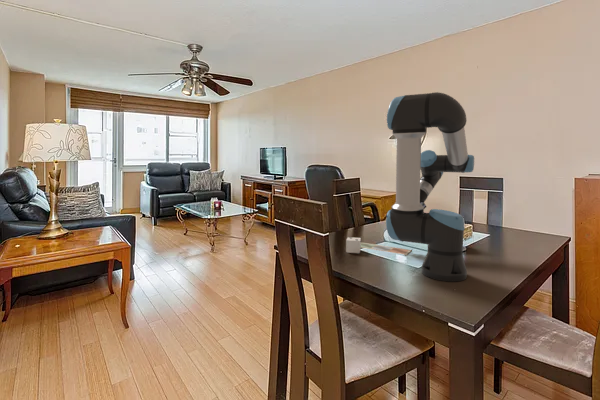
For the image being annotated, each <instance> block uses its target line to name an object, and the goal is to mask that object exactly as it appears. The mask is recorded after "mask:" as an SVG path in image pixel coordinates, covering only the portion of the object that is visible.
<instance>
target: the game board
mask: <svg viewBox="0 0 600 400" xmlns="http://www.w3.org/2000/svg"><path fill="white" fill-rule="evenodd" d="M361 249H367V250H374V251H379V252H380V251H381V252H386V253H393V254H399V255H403V256H404V255H405V257H406V256H408V255H409V254H410V253H412V252H413V251H412V249H406V248H399V247H394V246H386V245H380V244H374V243H368V242H362V241H361ZM408 253H409V254H408Z"/></svg>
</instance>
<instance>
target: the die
mask: <svg viewBox="0 0 600 400" xmlns="http://www.w3.org/2000/svg"><path fill="white" fill-rule="evenodd" d="M361 242H362V240H361V237H354V236H353V237H351V236H350V237H349V236H347V238H346V242H345V246H346V248H345V252H346V253H351V254H361V249H362V248H361Z"/></svg>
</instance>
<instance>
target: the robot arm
mask: <svg viewBox="0 0 600 400" xmlns="http://www.w3.org/2000/svg"><path fill="white" fill-rule="evenodd" d="M386 123H387V124H386V125H387V129H389V130H392V136H393V137H395V139H396V158H395V159H396V163H395V167H396V169H395V171H396V172H395V174H396V176H395V179H396V180H395V202H394V204H392V205H391V209H389V210H388V211H387V213H386V219H385V227H386V232H387V234H388V236H389V238H390V239H392V240H395V241H400V242H402V243H403V242H404V243H405V242H407V243H414V244H421V245H427V253H426V254H425V257H424V260H423V262H422V264H421V274H423V275H424V276H425V277H428V278H431V279H434V280H437V281H444V282H462V281H464V280H466V279H467V275H468V274H467V273H468V270H467V267H466V264H465V260H464V256H463V251H464V234H465V230H466V229H465V228H466V227H465V218H464V217H463V215H461V214H460V213H457V212H454V211H452V210H451V211H450V210H445V209H437V208H432V209H430V210H429V211H428V212H424V211H425V209H426V208H427V205H426V204H425V201H426V200H428V197H429V196H430V195H431V192H433V190H434V188H435V187H436V186H437V184H438V183H439V181H440V180H441V178H442V177H443V175H444V173H460V174H461V173H462V174H464V173H472V172H474V168H475V155H473V154H468V147H467V139H466V131H465V126H466V125H467V114H466V111H465V109H464V107H463V106H462V104H461V103H460V102H459V101H458V100H456V98H455V97H453V96H450V95H449V94H446V93H444V92H439V91H437V92H435V91H434V92H430V93H418V94H406V95H405V94H404V95H401V96H396V97H394V98H393V99H392V100H391V101H390V103H389V105H388V109H387V114H386ZM429 128H437V129H438V131H439V132H441V134H442V138H443V142H444V146H445V150H446V154H436V151H433V150H431V149H426V150H424V151H422V138H423V137H424V136H425V135H426V133H427V129H429Z"/></svg>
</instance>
